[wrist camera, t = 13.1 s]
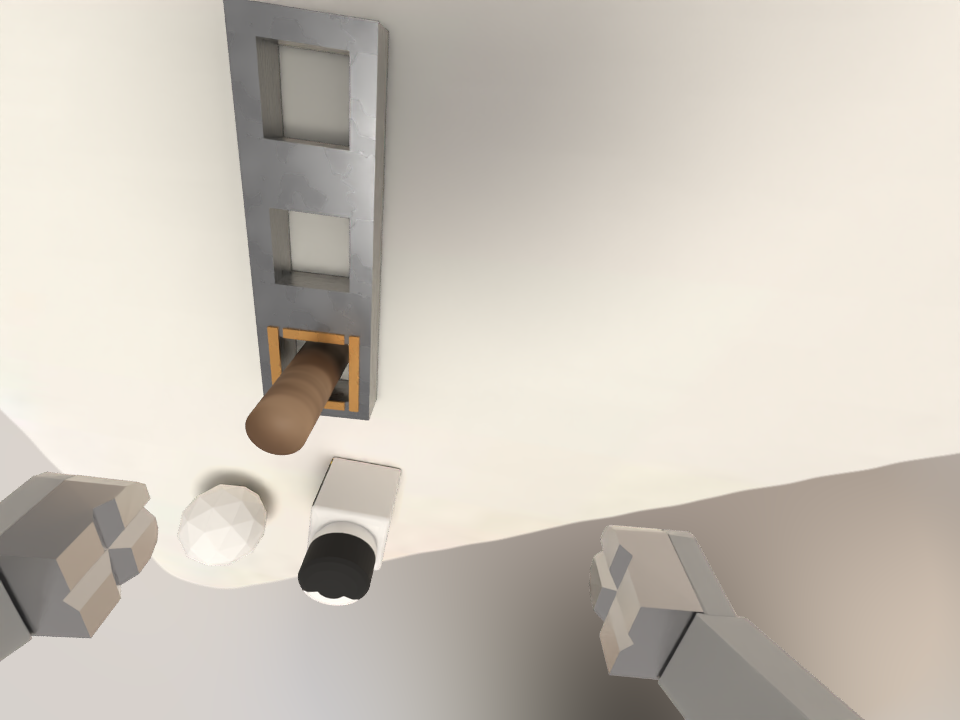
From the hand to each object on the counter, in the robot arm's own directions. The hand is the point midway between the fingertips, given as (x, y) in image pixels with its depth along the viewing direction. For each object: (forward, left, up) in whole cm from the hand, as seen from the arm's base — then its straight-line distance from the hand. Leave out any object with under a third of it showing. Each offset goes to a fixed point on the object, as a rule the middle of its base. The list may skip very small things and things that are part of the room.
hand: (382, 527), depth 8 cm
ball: (+36, +12, -31) cm, 49 cm away
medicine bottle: (+24, +18, -31) cm, 43 cm away
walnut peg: (+16, +4, -31) cm, 35 cm away
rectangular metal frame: (+10, -4, -31) cm, 33 cm away
